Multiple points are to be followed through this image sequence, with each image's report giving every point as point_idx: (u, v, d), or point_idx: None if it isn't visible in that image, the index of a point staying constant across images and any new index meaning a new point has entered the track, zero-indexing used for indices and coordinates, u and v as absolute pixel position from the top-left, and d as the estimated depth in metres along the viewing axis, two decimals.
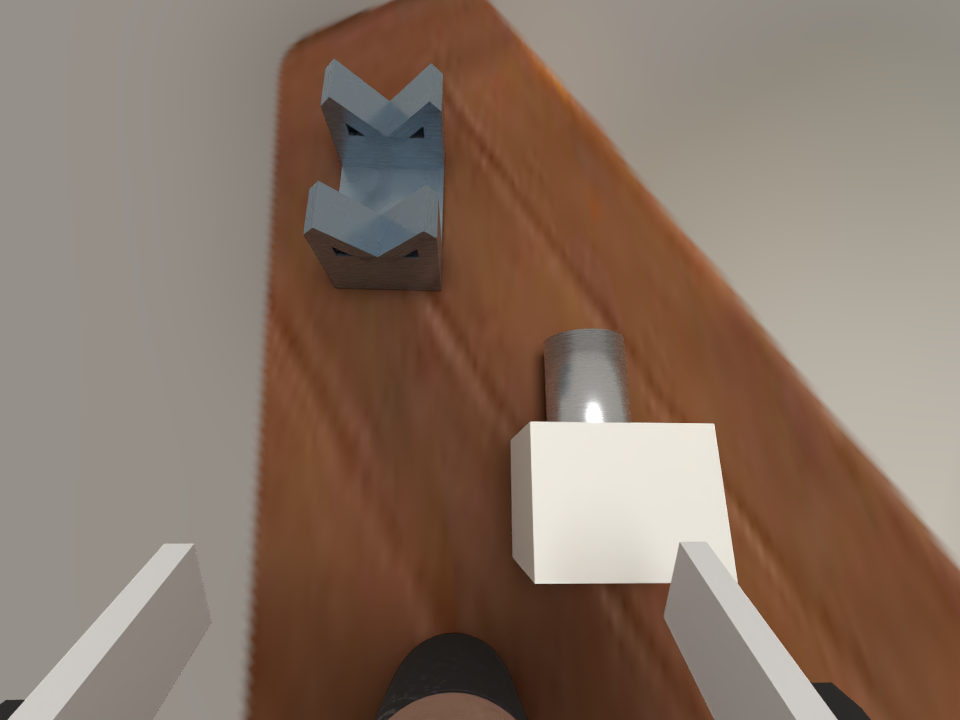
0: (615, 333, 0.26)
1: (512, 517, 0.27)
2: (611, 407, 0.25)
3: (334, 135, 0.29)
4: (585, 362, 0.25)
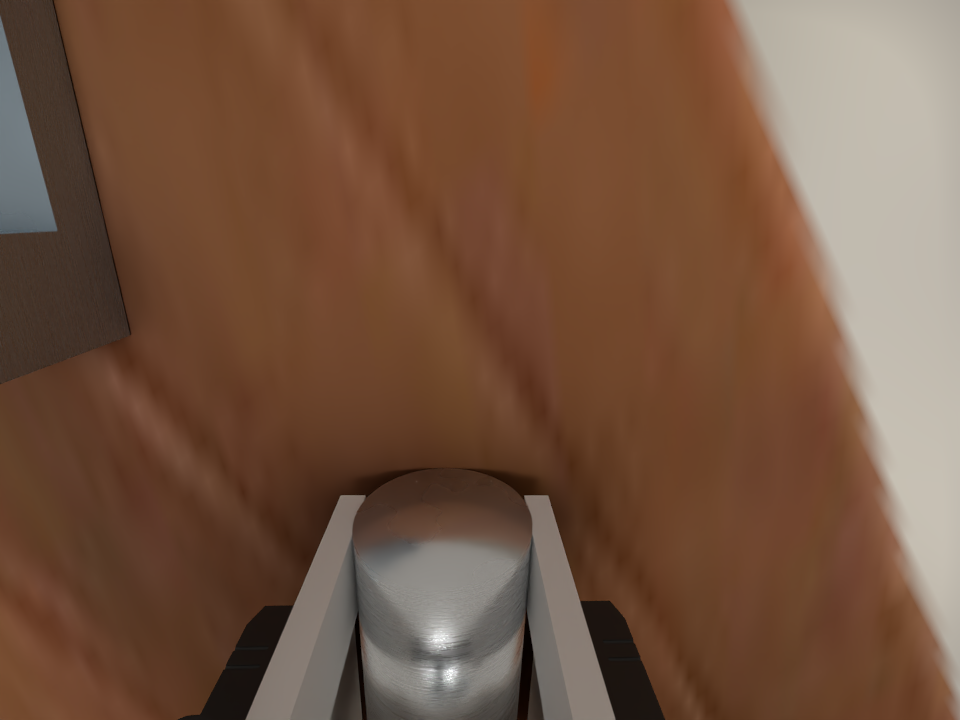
0: (499, 576, 0.11)
1: None
2: None
3: None
4: (414, 650, 0.11)
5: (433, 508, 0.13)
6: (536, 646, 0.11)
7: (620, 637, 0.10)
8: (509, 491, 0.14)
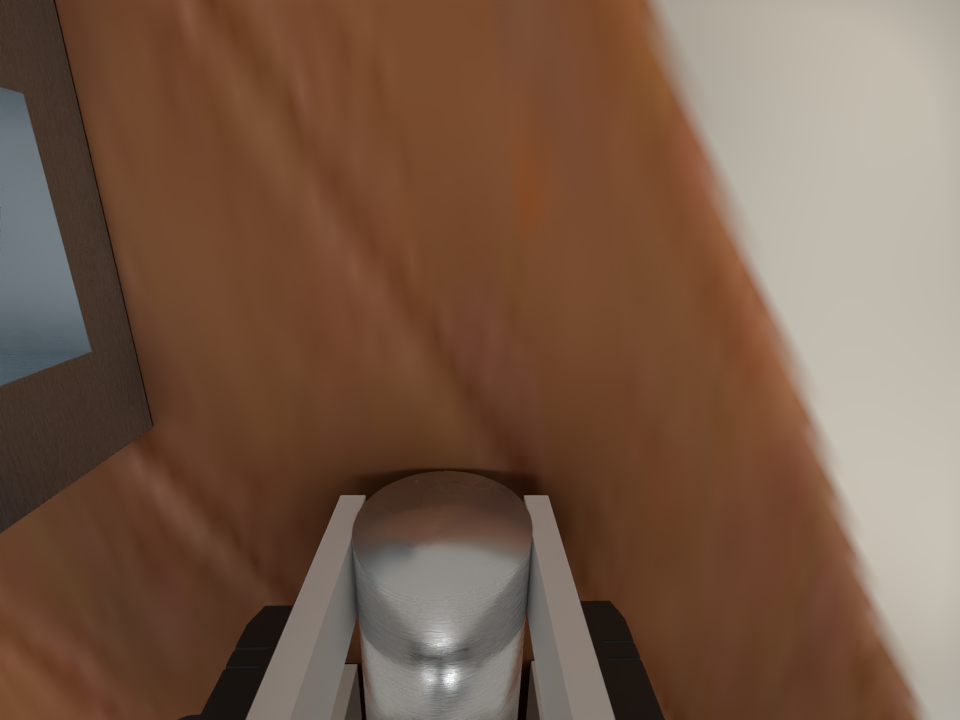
0: (500, 580, 0.11)
1: None
2: None
3: None
4: (414, 655, 0.11)
5: (433, 512, 0.13)
6: (536, 646, 0.11)
7: (620, 637, 0.10)
8: (509, 494, 0.14)
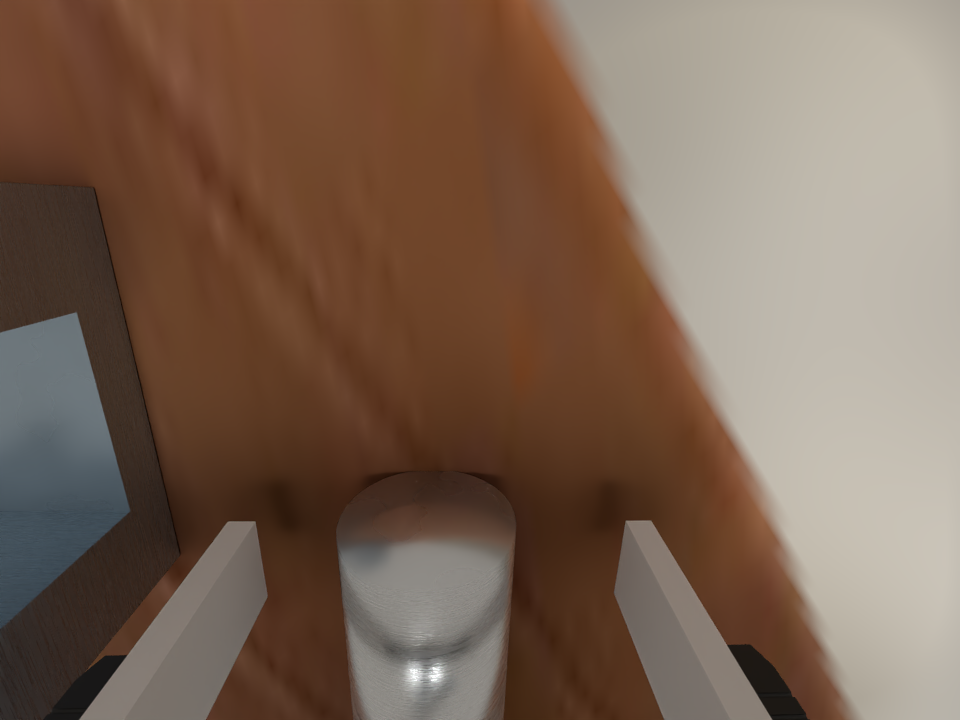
0: (463, 585, 0.10)
1: None
2: None
3: None
4: (378, 645, 0.11)
5: (421, 508, 0.13)
6: (663, 692, 0.10)
7: (776, 689, 0.09)
8: (502, 501, 0.13)
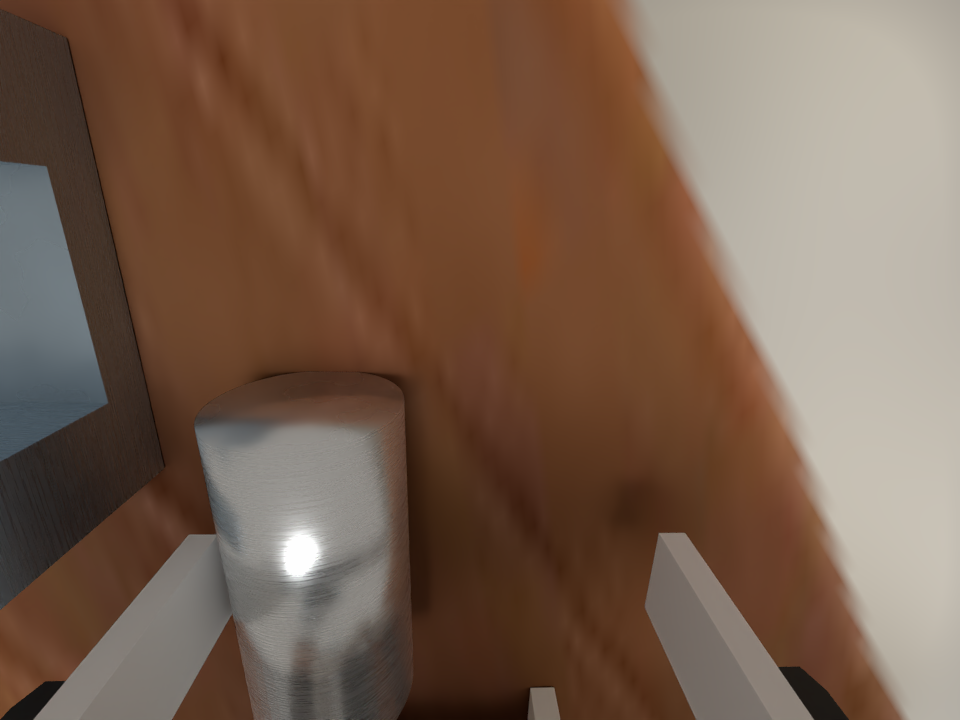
0: None
1: None
2: None
3: None
4: None
5: (326, 400, 0.12)
6: (706, 716, 0.10)
7: (833, 716, 0.08)
8: (298, 447, 0.09)
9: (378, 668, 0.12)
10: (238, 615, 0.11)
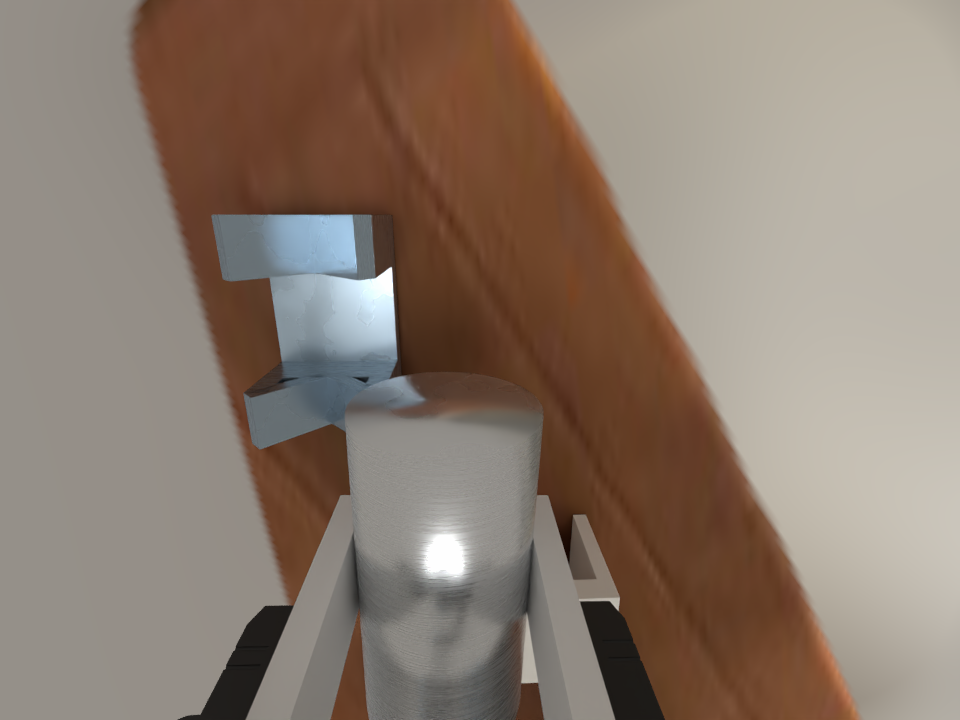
0: (471, 458, 0.09)
1: None
2: (432, 627, 0.11)
3: None
4: (379, 524, 0.10)
5: (439, 398, 0.12)
6: (536, 646, 0.11)
7: (620, 637, 0.10)
8: (530, 399, 0.12)
9: None
10: (512, 610, 0.11)
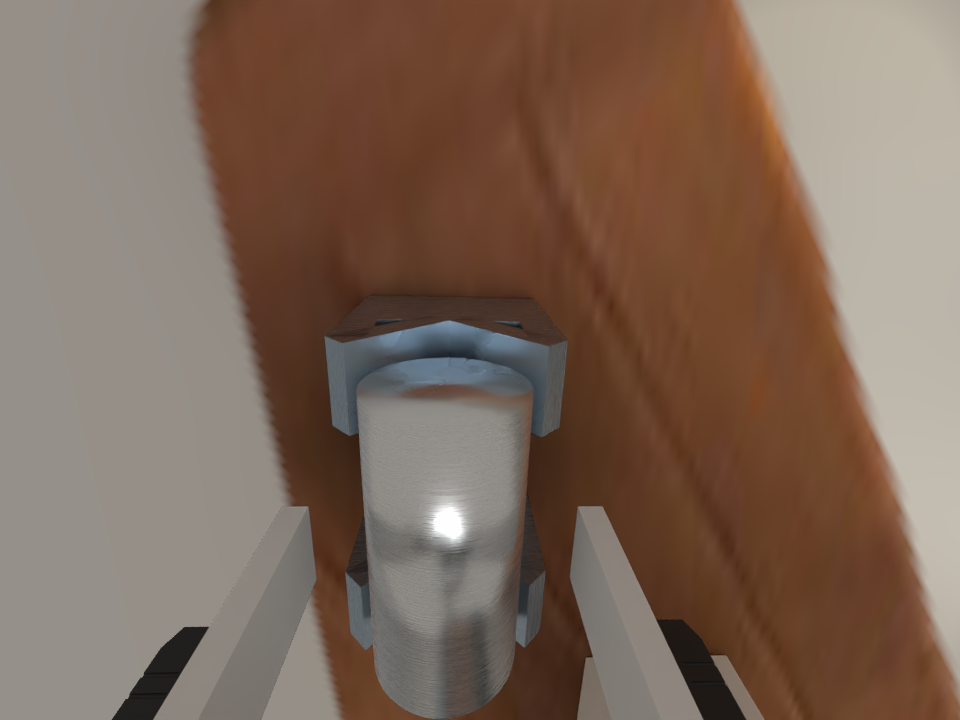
0: (469, 428, 0.10)
1: (579, 715, 0.29)
2: (434, 581, 0.12)
3: None
4: (387, 487, 0.11)
5: (440, 379, 0.13)
6: (602, 666, 0.11)
7: (700, 659, 0.09)
8: (522, 380, 0.13)
9: None
10: (506, 569, 0.13)
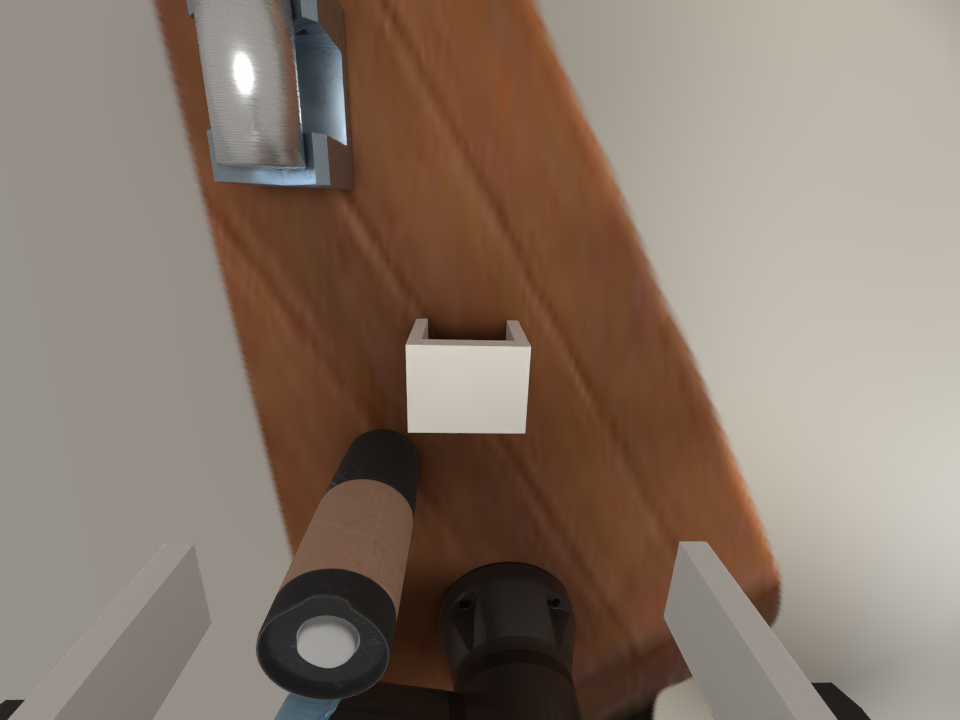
0: None
1: None
2: (225, 50, 0.23)
3: None
4: None
5: None
6: None
7: None
8: None
9: None
10: (271, 65, 0.24)
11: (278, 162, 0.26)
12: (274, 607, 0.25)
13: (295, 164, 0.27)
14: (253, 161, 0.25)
